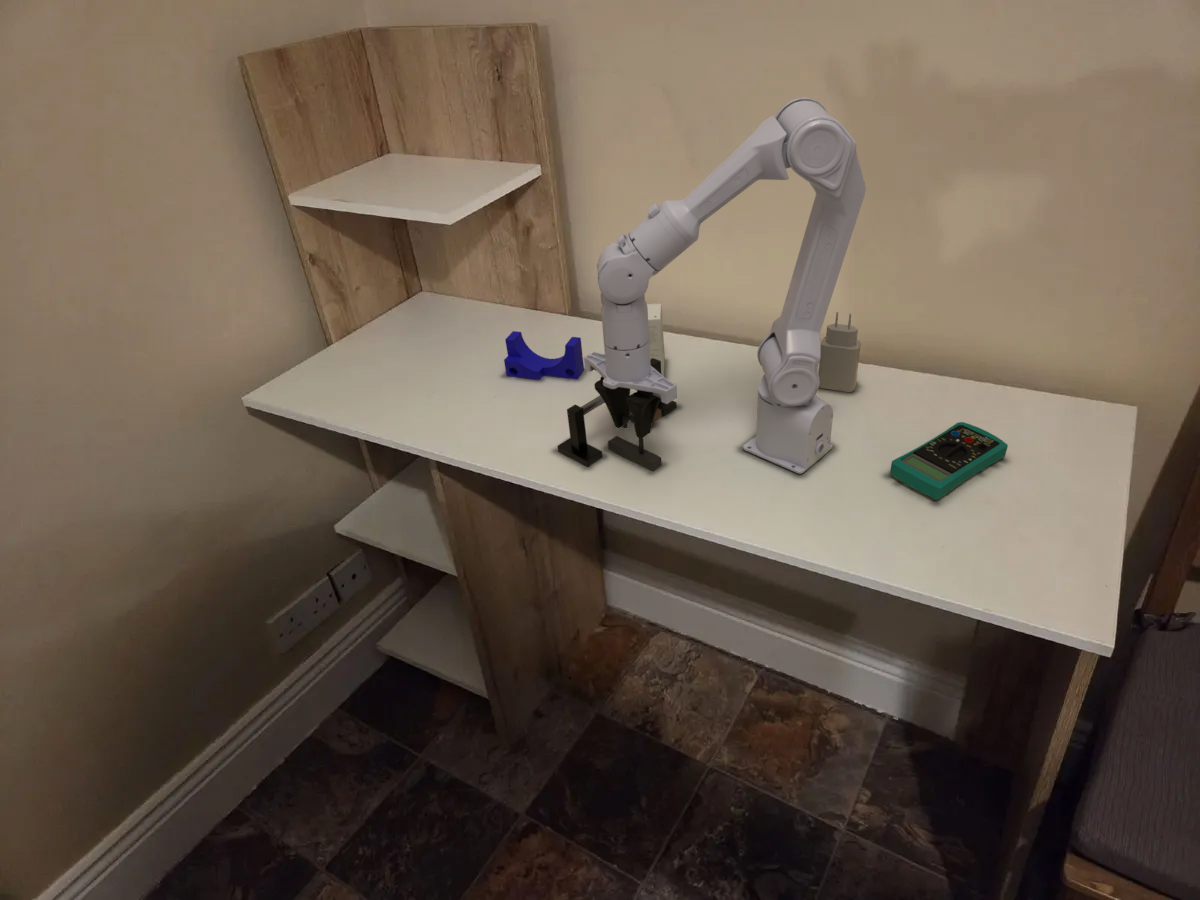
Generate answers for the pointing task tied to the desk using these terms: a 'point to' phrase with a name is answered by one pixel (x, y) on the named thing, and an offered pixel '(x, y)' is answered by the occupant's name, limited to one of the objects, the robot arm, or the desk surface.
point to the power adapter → (839, 357)
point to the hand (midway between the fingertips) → (632, 429)
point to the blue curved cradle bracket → (542, 360)
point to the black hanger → (634, 449)
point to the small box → (656, 334)
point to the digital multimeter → (948, 459)
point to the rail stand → (577, 441)
